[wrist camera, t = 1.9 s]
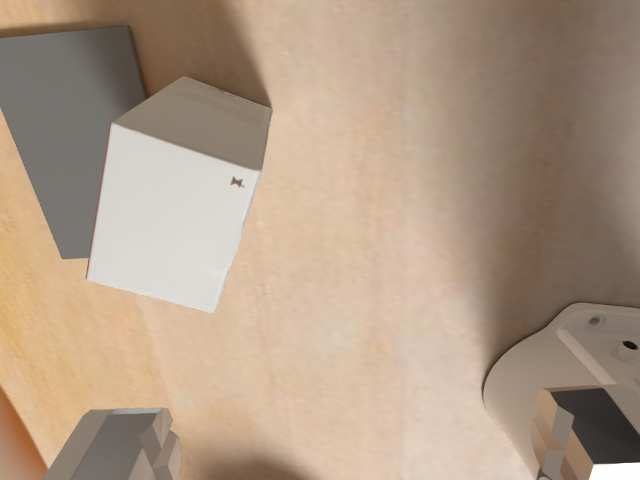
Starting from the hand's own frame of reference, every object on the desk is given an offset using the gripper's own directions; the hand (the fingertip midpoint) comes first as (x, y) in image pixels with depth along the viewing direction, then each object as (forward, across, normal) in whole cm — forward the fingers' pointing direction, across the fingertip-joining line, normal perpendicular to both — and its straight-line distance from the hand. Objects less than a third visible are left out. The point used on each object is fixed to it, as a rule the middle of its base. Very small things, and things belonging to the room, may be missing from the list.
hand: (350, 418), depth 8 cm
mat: (+24, +18, 0) cm, 30 cm away
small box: (+24, +8, 0) cm, 26 cm away
